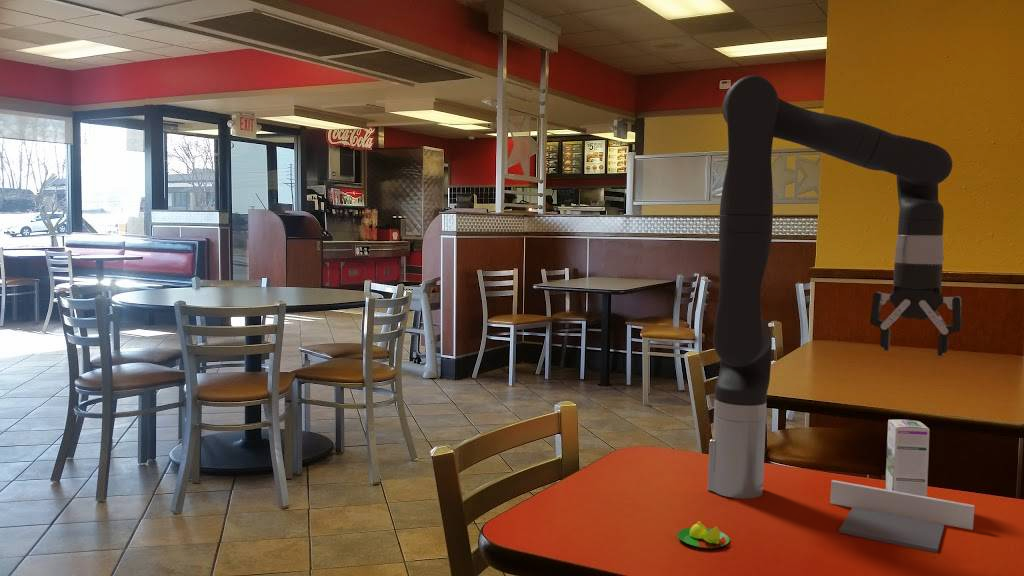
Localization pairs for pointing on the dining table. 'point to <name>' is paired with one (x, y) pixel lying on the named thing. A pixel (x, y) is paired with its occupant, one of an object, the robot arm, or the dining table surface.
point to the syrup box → (907, 457)
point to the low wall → (902, 504)
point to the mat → (893, 529)
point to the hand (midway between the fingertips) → (913, 352)
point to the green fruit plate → (701, 535)
